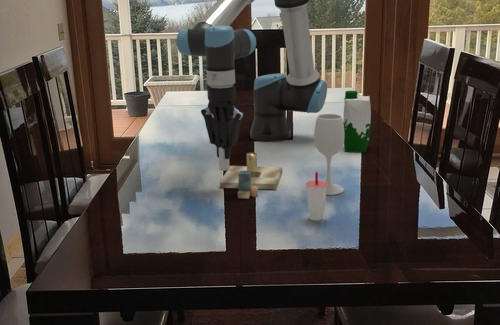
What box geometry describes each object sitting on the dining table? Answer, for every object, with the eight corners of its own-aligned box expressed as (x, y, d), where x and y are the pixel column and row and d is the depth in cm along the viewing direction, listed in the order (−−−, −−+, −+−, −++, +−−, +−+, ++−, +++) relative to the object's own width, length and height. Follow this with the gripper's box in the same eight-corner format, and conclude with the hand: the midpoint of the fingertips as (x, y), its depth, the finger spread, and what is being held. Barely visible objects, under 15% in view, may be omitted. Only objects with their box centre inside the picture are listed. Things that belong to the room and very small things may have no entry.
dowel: (249, 195, 168) (248, 186, 168) (255, 194, 170) (254, 185, 169) (253, 197, 167) (252, 188, 166) (259, 196, 168) (259, 187, 167)
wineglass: (346, 186, 174) (348, 113, 168) (340, 196, 166) (342, 120, 160) (316, 183, 177) (317, 112, 171) (309, 193, 169) (310, 118, 163)
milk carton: (343, 145, 216) (344, 89, 210) (369, 146, 214) (371, 89, 208) (341, 152, 208) (343, 93, 202) (369, 153, 206) (371, 94, 200)
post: (245, 179, 182) (244, 153, 179) (253, 177, 183) (253, 152, 181) (250, 182, 179) (250, 156, 177) (259, 180, 181) (258, 154, 178)
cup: (311, 223, 149) (312, 176, 145) (301, 216, 153) (301, 170, 150) (331, 220, 151) (332, 173, 147) (320, 212, 155) (321, 167, 152)
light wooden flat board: (214, 197, 167) (213, 174, 165) (230, 170, 190) (229, 150, 188) (272, 199, 165) (272, 176, 163) (282, 172, 187) (282, 152, 186)
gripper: (193, 85, 165) (197, 169, 172) (233, 89, 158) (236, 176, 165) (209, 81, 171) (213, 162, 178) (249, 84, 164) (251, 168, 171)
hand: (224, 169), depth 171 cm, fingers closed
